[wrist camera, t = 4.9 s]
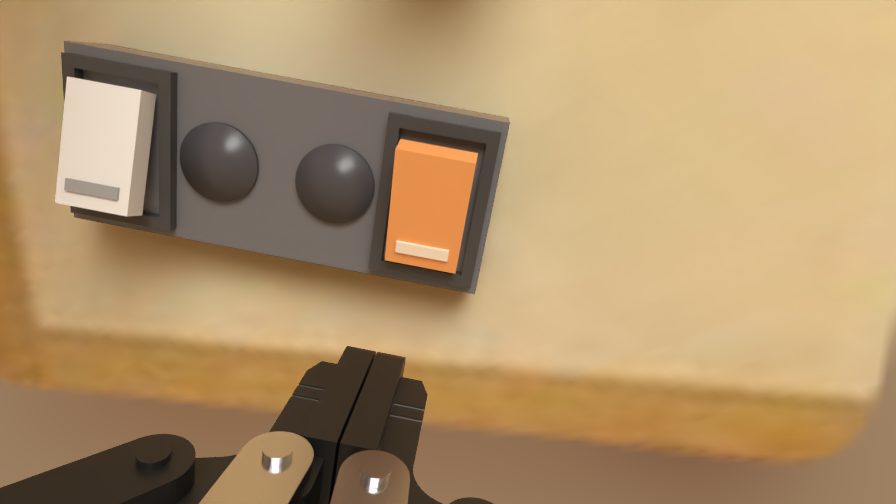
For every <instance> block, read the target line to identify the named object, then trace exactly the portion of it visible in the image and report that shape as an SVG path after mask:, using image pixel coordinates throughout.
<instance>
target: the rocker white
mask: <svg viewBox="0 0 896 504" xmlns="http://www.w3.org/2000/svg"><path fill="white" fill-rule="evenodd" d="M155 101H156V94H152V93H149V92H146V91H143V90H138V89H132V88H127V87H122V86H116V85H111V84H105V83H100V82H95V81H89V80H84V79H78V78H73V77H68V76H67V81H66V92H65V102H64V112H63V123H62V133H61V144H60V154H59V164H58V175H57V185H56V196H55V203H59V204H64V205H69V206H75V207H80V208H85V209H90V210H96V211H101V212H106V213H111V214H116V215H122V216H141V215H142V213H143V205H144V196H145V187H146V179H147V170H148V162H149V153H150V144H151V136H152V127H153V119H154V110H155Z"/></svg>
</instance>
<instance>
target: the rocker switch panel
mask: <svg viewBox="0 0 896 504" xmlns="http://www.w3.org/2000/svg"><path fill="white" fill-rule="evenodd" d="M64 50H65V53H61V58H62V74H63V91H64V102H65V92H66V81H67V76H68V77H73V78H78V79H84V80H89V81H95V82H100V83H105V84H111V85H116V86H122V87H127V88H132V89H138V90H143V91H146V92H149V93H152V94H156V101H155V110H154V119H153V127H152V136H151V144H150V153H149V162H148V170H147V179H146V187H145V196H144V205H143V213H142V215H141V216H122V215H116V214H111V213H106V212H101V211H96V210H90V209H85V208H80V207H75V206H70V207H71V212H73V213H74V217H76V218H81V219H86V220H91V221H97V222H102V223H107V224H112V225H117V226H123V227H128V228H133V229H138V230H143V231H149V232H154V233H159V234H164V235H169V236H175V237H180V238H185V239H190V240H196V241H201V242H206V243H211V244H216V245H222V246H227V247H232V248H237V249H242V250H248V251H253V252H258V253H263V254H268V255H274V256H279V257H284V258H289V259H294V260H300V261H305V262H310V263H315V264H321V265H326V266H331V267H336V268H341V269H347V270H352V271H357V272H362V273H367V274H373V275H378V276H383V277H388V278H393V279H399V280H404V281H409V282H414V283H420V284H425V285H430V286H435V287H440V288H446V289H451V290H456V291H461V292H466V293H472V294H475V290H476V286H477V281H478V276H479V271H480V266H481V261H482V256H483V251H484V246H485V241H486V236H487V232H488V227H489V222H490V217H491V212H492V207H493V202H494V197H495V192H496V187H497V183H498V178H499V173H500V168H501V163H502V158H503V153H504V148H505V143H506V138H507V134H508V129H509V124H510V122H509V118H506V117H501V116H496V115H490V114H485V113H479V112H474V111H468V110H463V109H457V108H452V107H446V106H441V105H436V104H430V103H425V102H419V101H414V100H408V99H403V98H397V97H392V96H386V95H381V94H375V93H370V92H365V91H359V90H354V89H348V88H343V87H337V86H332V85H326V84H321V83H315V82H310V81H305V80H299V79H294V78H288V77H283V76H277V75H272V74H266V73H261V72H255V71H250V70H245V69H239V68H234V67H228V66H223V65H217V64H212V63H206V62H201V61H195V60H190V59H185V58H179V57H174V56H168V55H163V54H157V53H152V52H146V51H141V50H135V49H130V48H124V47H119V46H114V45H108V44H97V43H84V42H70V41H64ZM400 139H404V140H409V141H415V142H420V143H426V144H431V145H436V146H442V147H447V148H453V149H458V150H463V151H469V152H474V153H478V157H477V162H476V167H475V173H474V178H473V183H472V189H471V194H470V199H469V205H468V210H467V215H466V221H465V226H464V231H463V237H462V242H461V247H460V253H459V258H458V263H457V268H456V273H455V274H454V273H449V272H444V271H439V270H433V269H428V268H423V267H418V266H412V265H407V264H402V263H397V262H391V261H386V260H385V252H386V241H387V231H388V221H389V210H390V200H391V189H392V179H393V169H394V158H395V149H396V147H397V145H398V143H399V141H400Z"/></svg>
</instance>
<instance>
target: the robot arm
mask: <svg viewBox="0 0 896 504" xmlns="http://www.w3.org/2000/svg"><path fill="white" fill-rule="evenodd" d="M405 359H406V358H405V357H401V356H396V355H391V354H386V353H381V352H377V354H376V352H375V351H370V350H365V349H360V348H355V347H350V346H347V347H346V349H345V351H344V353H343V354H342V356H341V358H340V360H339V362H338V364H333V363H328V362H323V361H322V362H320V363H318V364H317V365H315V366H314V367H312V368H310V369H309V370H307V371H306V373H305V375H304V376H303V378H302V380H301V381H300V383H299V386H297V388H296V389H295V391H294V393H293V395H292V397H291V398H290V399H289V401H288V402H287V404H286V406H285V407H284V409H283V411H282V412H281V414H280V415H279V417H278V419H277V420H276V422H275V424H274V425H273V427H272V428H271V430H270V432H269V433H265V434H261V435H259V436H257V437H255V438H253V439H251V440H250V441H249V442H247V444H246V445H245V446H244V447H243V448H242V449H241V451H240V452H239V453H238V454H237V455H233V456H227V457H212V458H211V457H210V458H195V449H194V447H193V445H192V444H191V443H190V442H189V441H188V440H186V439H185V438H182V437H179V436H176V435H170V434H157V435H150V436H146V437H142V438H139V439H136V440H134V441H131V442H128V443H125V444H122V445H119V446H116V447H114V448H111V449H108V450H106V451H102V452H100V453H97V454H94V455H91V456H89V457H86V458H83V459H80V460H77V461H74V462H72V463H69V464H66V465H63V466H61V467H58V468H55V469H52V470H49V471H46V472H44V473H41V474H38V475H35V476H32V477H30V478H27V479H24V480H22V481H19V482H16V483H13V484H10V485H7V486H4V487H2V488H0V504H442V503H440V502H438V501H436V500H434V499H433V498H431V497H429V496H428V495H427V494H425V493H424V492H423V491H422V490H421V488H420V487H419V486H418V485H417V483H416V481H415V478H414V475H413V465H414V460H415V455H416V451H417V446H418V440H419V435H420V430H421V425H422V420H423V415H424V410H425V405H426V400H427V393H426V390H425V388H424V386H423V383H422V381H419V380H414V379H409V378H404V377H403V372H404V366H405ZM450 504H493V503H491V502H488V501H486V500H483V499H479V498H461V499H458V500H455V501H454V502H451V503H450Z"/></svg>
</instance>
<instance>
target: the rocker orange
mask: <svg viewBox="0 0 896 504" xmlns="http://www.w3.org/2000/svg"><path fill="white" fill-rule="evenodd" d="M477 157H478V153H474V152H469V151H463V150H458V149H453V148H447V147H442V146H436V145H431V144H426V143H420V142H415V141H409V140H404V139H400V141H399V143H398V145H397V147H396V149H395V158H394V169H393V179H392V189H391V200H390V210H389V221H388V231H387V241H386V252H385V260H386V261H391V262H397V263H402V264H407V265H412V266H418V267H423V268H428V269H433V270H439V271H444V272H449V273H454V274H455V273H456V268H457V263H458V258H459V253H460V247H461V242H462V237H463V231H464V226H465V221H466V215H467V210H468V205H469V199H470V194H471V189H472V183H473V178H474V173H475V167H476V162H477Z"/></svg>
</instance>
